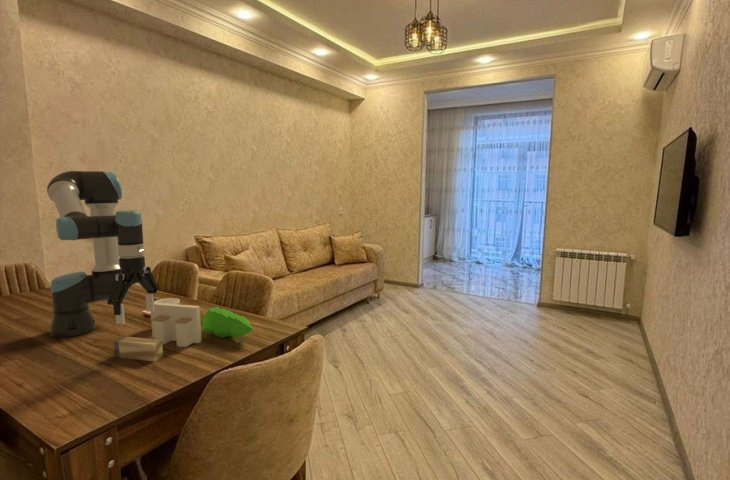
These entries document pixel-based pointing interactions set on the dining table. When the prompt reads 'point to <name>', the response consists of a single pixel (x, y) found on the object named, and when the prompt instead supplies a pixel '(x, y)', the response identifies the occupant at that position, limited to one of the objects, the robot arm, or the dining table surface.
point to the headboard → (176, 324)
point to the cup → (168, 301)
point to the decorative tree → (224, 323)
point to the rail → (138, 348)
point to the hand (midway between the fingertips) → (136, 317)
